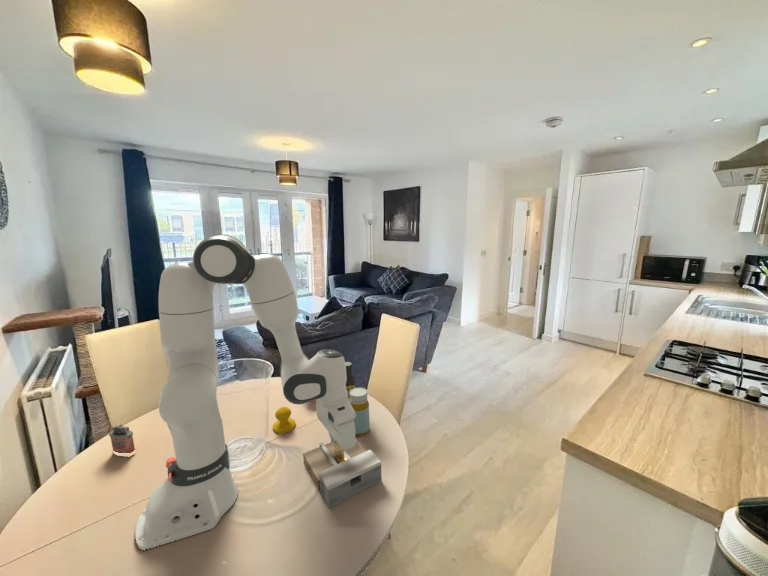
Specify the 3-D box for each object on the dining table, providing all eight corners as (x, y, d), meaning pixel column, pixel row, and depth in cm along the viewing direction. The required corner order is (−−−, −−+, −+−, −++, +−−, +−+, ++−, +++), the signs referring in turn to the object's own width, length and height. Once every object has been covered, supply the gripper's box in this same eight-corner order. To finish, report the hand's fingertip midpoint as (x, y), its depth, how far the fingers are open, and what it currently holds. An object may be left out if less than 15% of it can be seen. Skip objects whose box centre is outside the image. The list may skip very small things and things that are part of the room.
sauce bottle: (340, 416, 121) (337, 368, 117) (338, 408, 127) (335, 361, 123) (357, 413, 123) (355, 366, 119) (354, 405, 129) (352, 359, 125)
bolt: (333, 459, 93) (332, 441, 92) (341, 455, 95) (340, 438, 94) (347, 478, 86) (346, 459, 85) (355, 474, 87) (354, 455, 86)
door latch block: (303, 462, 97) (302, 444, 96) (350, 442, 106) (349, 425, 104) (329, 508, 80) (327, 487, 79) (381, 481, 89) (380, 461, 88)
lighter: (109, 455, 103) (104, 427, 101) (120, 448, 106) (115, 421, 104) (128, 458, 101) (123, 430, 99) (139, 451, 104) (134, 424, 102)
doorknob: (278, 436, 110) (269, 426, 116) (299, 427, 115) (289, 418, 121) (276, 417, 109) (267, 408, 114) (297, 408, 114) (288, 400, 120)
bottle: (367, 437, 108) (365, 397, 105) (347, 435, 109) (345, 396, 107) (371, 425, 115) (370, 387, 112) (353, 423, 116) (351, 386, 113)
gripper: (310, 392, 99) (312, 431, 101) (337, 423, 82) (340, 470, 85) (328, 386, 102) (330, 424, 105) (358, 415, 86) (360, 460, 88)
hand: (335, 445), depth 95 cm, fingers closed
